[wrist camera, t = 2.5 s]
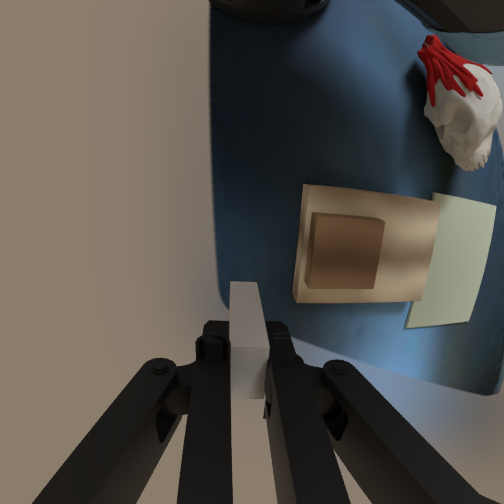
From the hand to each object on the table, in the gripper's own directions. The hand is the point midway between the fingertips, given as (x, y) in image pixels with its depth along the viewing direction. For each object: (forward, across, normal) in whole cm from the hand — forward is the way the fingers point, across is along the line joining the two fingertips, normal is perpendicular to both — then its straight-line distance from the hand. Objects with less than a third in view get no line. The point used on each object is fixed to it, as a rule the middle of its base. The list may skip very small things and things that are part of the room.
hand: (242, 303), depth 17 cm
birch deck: (+14, +14, 0) cm, 20 cm away
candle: (+14, +23, +19) cm, 33 cm away
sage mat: (+14, +29, -2) cm, 33 cm away
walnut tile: (+12, +10, 0) cm, 16 cm away
